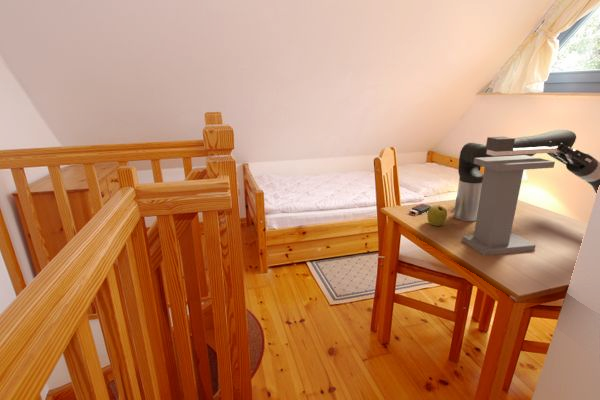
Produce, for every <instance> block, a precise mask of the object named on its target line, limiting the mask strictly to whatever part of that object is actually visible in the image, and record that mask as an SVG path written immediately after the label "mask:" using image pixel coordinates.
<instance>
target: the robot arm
mask: <svg viewBox="0 0 600 400" xmlns="http://www.w3.org/2000/svg"><path fill="white" fill-rule="evenodd" d="M514 138H515V142H514V147H513V148H528V147H547V146H558V147H557V149H558V150H559V151H561V152H556V153H546V154H547V155H548V156H550V157H551V158H553V159H555V160H556V161H558V162H560V163H562V164H563V165H565V167H566V169H567V170H568V171H569V172H570V173H572V174H573V175H575V176H576V177H577V178H579V179H581V180H583V181H585V182H587V183H588V184H589V185H591V187H592V188H593V190H594V192H595V194H596V193H597V190H598V187H599V185H600V161H599V160H598V159H596V158H595V157H594V156H592V155H591V154H589V153H588V152H583V151H581V150H579V149H573V146H574V144H575V143H576V140H577V135H576V133H575V132H574V131H572V130H568V129H555V130H550V131H547V132H544V133H540V134H536V135H535V134H534V135H529V136H521V137H514ZM569 147H570V148H569ZM486 153H487V149H486V144H481V143H476V142H467V143H466V144H464V145H463V147H462V148H461V149H460V152H459V158H458V169H457V171H458V176H459V179H458V186H457V193H456V194H457V195H456V197H455V202H454V203H455V205H454V209H453V219H457V220H459V221H463V222H476V218H477V212H478V206H479V200H480V193H481V187H482V181H483V175H484V173H482V172H481V170H480V171H479V169H478V167H481V168H484V167H483V166H480V165H477V164H474V158H482V157H500V156H492V155H488V154H486ZM520 155H527V156H532V157H534V156H535V155H536V154H520ZM501 156H518V155H501Z"/></svg>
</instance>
